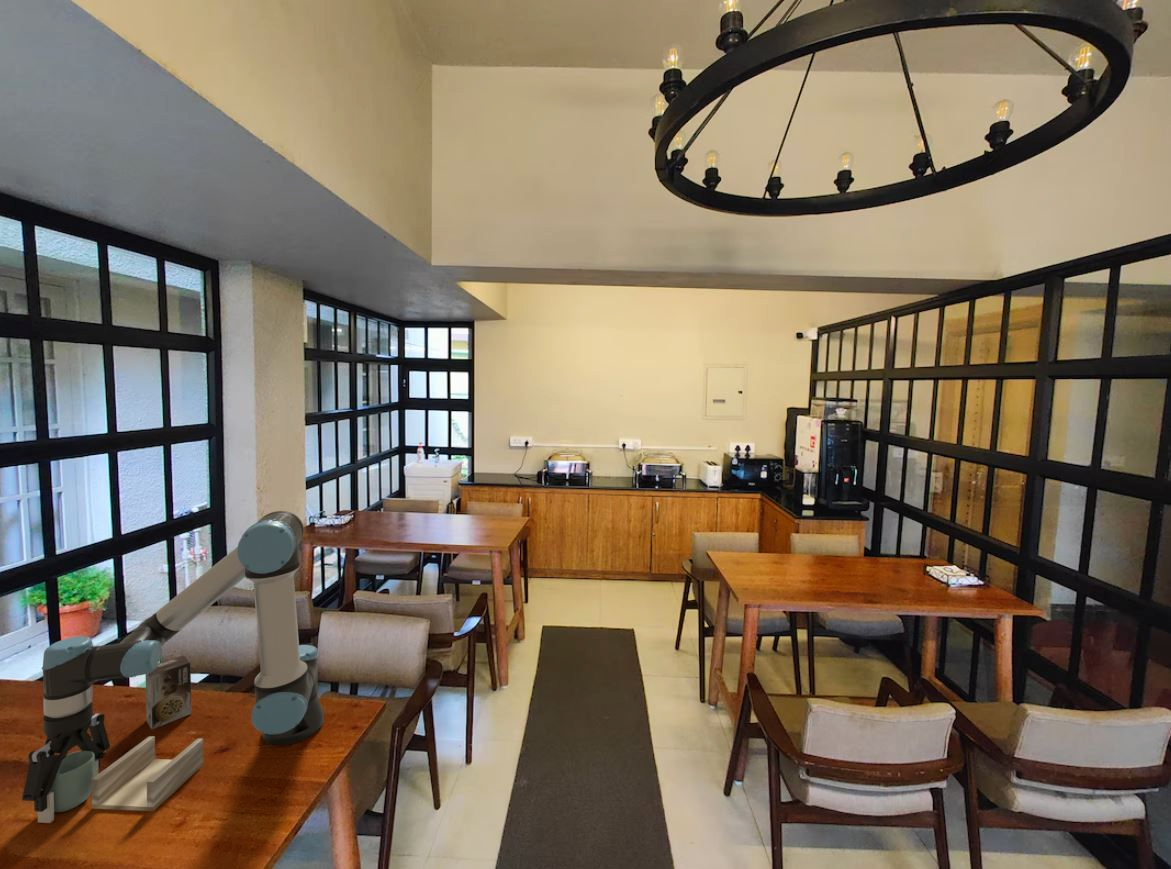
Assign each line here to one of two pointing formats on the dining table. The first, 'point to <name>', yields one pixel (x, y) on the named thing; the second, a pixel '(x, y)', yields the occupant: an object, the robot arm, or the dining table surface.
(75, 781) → the cup
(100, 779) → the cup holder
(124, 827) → the dining table surface
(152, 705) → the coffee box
